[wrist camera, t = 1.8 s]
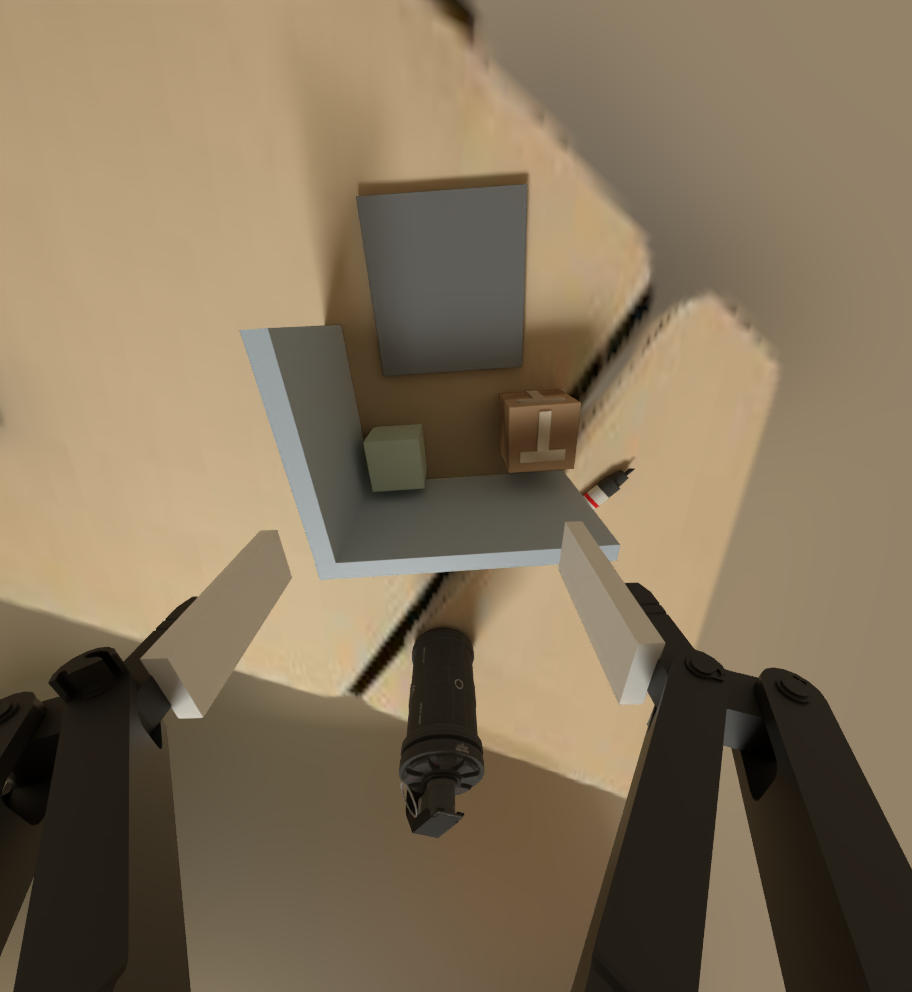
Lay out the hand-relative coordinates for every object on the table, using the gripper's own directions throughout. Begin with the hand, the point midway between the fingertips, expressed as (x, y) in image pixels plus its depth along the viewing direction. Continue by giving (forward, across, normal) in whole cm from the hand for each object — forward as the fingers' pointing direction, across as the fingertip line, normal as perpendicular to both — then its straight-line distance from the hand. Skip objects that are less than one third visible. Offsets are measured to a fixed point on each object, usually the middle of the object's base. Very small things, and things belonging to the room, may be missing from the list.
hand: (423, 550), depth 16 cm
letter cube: (+22, +9, 0) cm, 24 cm away
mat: (+21, +1, +12) cm, 24 cm away
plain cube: (+22, -4, -2) cm, 22 cm away
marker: (+22, +16, -10) cm, 29 cm away
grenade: (+22, -1, -34) cm, 41 cm away
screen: (+21, +1, +2) cm, 22 cm away
